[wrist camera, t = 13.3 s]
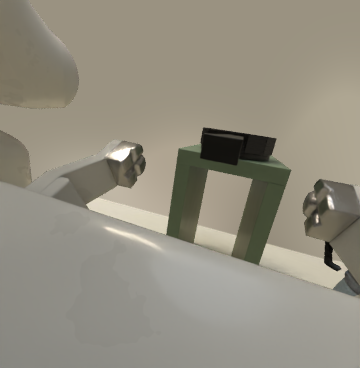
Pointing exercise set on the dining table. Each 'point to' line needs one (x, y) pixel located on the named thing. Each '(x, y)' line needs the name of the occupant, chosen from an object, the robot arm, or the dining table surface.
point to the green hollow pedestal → (255, 206)
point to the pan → (234, 146)
